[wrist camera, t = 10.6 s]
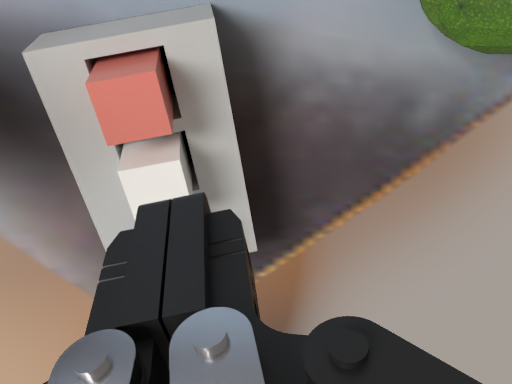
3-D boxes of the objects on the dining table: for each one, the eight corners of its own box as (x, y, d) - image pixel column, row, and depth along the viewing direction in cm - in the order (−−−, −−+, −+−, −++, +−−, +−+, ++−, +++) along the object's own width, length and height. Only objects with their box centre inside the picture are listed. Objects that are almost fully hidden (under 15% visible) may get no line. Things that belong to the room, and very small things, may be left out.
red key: (159, 46, 26) (155, 70, 22) (173, 102, 28) (172, 133, 24) (98, 57, 26) (84, 83, 22) (117, 113, 27) (107, 146, 24)
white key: (179, 126, 28) (179, 159, 25) (191, 172, 30) (193, 210, 27) (125, 136, 28) (117, 171, 25) (140, 182, 30) (135, 221, 27)
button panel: (210, 3, 27) (214, 17, 24) (250, 218, 36) (257, 250, 33) (41, 33, 27) (21, 52, 23) (123, 243, 36) (117, 279, 32)
